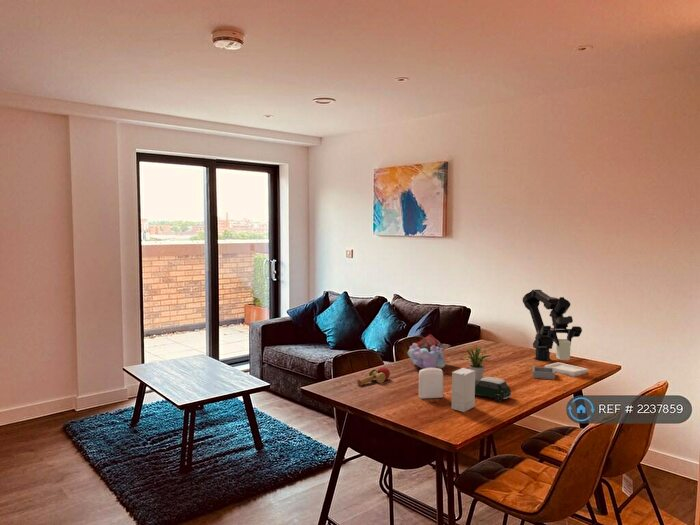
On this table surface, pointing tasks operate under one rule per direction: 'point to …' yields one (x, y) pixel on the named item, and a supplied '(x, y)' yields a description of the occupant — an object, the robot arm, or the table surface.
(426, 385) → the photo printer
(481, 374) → the house plant
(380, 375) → the kendama
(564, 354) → the sage block
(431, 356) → the lumpy lavender cluster
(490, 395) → the miniature car
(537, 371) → the holder
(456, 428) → the table surface
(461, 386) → the skincare box
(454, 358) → the table surface
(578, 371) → the tray
